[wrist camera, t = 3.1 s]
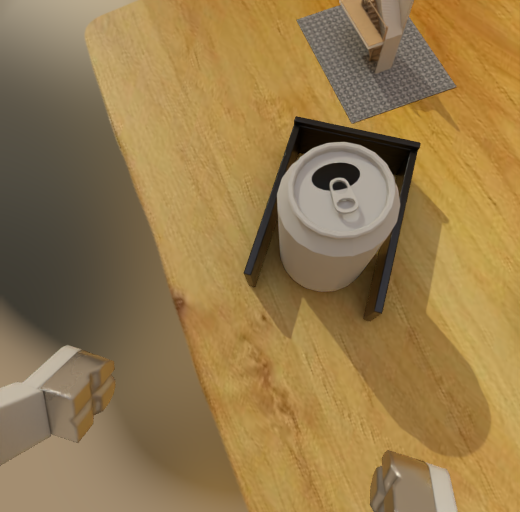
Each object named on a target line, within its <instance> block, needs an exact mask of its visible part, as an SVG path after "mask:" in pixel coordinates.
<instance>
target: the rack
mask: <svg viewBox="0 0 520 512" xmlns="http://www.w3.org/2000/svg"><path fill="white" fill-rule="evenodd" d="M334 142H347V143H352V144H357V145H361V146H363V147H365V148H367V149H369V150H371V151H373V152H375V153H376V154H377V155H378V156H379V157H380V158H381V159H382V160H383V161H384V162H385V163H387V165H388V167H389V169H390V171H391V172H392V174H395V175H397V176H396V180H395V183H396V185H397V187H398V193H399V199H400V209H399V214H398V219H397V223H396V224H395V226H394V227H393V229H392V231H391V232H390V234H389V235H388V237H387V238H386V240H385V241H384V243H383V244H382V245H381V247H380V249H379V253H378V258H377V262H376V266H375V271H374V275H373V279H372V283H371V288H370V292H369V296H368V301H367V305H366V309H365V314H364V318H363V319H364V320H368V321H371V320H373V319H374V318H376V317H377V316H379V315H380V314H382V312H383V307H384V302H385V298H386V293H387V289H388V284H389V280H390V275H391V270H392V266H393V261H394V257H395V252H396V247H397V243H398V238H399V234H400V229H401V225H402V220H403V215H404V211H405V206H406V202H407V197H408V193H409V188H410V183H411V179H412V174H413V170H414V165H415V160H416V156H417V151H418V149H419V148H420V143H419V142H415V141H410V140H405V139H400V138H396V137H391V136H386V135H382V134H377V133H372V132H367V131H363V130H358V129H353V128H349V127H344V126H339V125H334V124H330V123H325V122H320V121H316V120H311V119H306V118H301V117H297V116H296V117H295V120H294V126H293V129H292V132H291V135H290V138H289V141H288V144H287V147H286V150H285V153H284V156H283V159H282V162H281V165H280V168H279V170H278V173H277V176H276V179H275V182H274V185H273V188H272V191H271V194H270V197H269V200H268V203H267V206H266V209H265V212H264V215H263V218H262V221H261V224H260V227H259V229H258V232H257V235H256V238H255V241H254V244H253V247H252V250H251V253H250V256H249V259H248V262H247V265H246V268H245V271H244V275H245V277H246V280H247V282H248V284H249V286H252V287H255V286H256V283H257V280H258V277H259V274H260V271H261V268H262V265H263V262H264V259H265V255H266V252H267V249H268V246H269V243H270V240H271V237H272V234H273V231H274V228H275V225H276V222H277V219H278V206H277V192H278V189H279V186H280V183H281V180H282V177H283V176H284V175H285V173H286V172H287V171H288V169H289V168H290V166H291V165H292V164H293V163H295V162H296V160H297V157H298V154H299V153H303V154H305V153H307V152H308V151H309V150H311V149H312V148H315V147H317V146H320V145H323V144H326V143H334Z"/></svg>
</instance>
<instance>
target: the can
mask: <svg viewBox="0 0 520 512" xmlns="http://www.w3.org/2000/svg"><path fill="white" fill-rule="evenodd" d="M277 206H278V225H279V243H280V258H281V261H282V263H283V266H284V268H285V270H286V272H287V273H288V274H289V275H290V276H291V278H292V279H293V280H294V281H295V282H297V283H299V284H300V285H302V286H303V287H305V288H307V289H311V290H315V291H319V292H326V291H336V290H338V289H341V288H344V287H347V286H348V285H349V284H351V283H352V282H353V281H354V280H356V279H357V278H358V277H359V275H360V274H361V273H362V271H363V270H364V269H365V267H366V266H367V264H368V263H369V262H370V260H371V259H372V258H373V256H374V255H375V254H376V252H377V251H378V249H379V248H380V247H381V245H382V244H383V243H384V241H385V240H386V238H387V237H388V235H389V234H390V232H391V231H392V229H393V227H394V226H395V224H396V223H397V219H398V214H399V209H400V199H399V193H398V187H397V185H396V183H395V179H394V176H393V174H392V172H391V171H390V169H389V167H388V165H387V163H385V162H384V161H383V160H382V159H381V158H380V157H379V156H378V155H377V154H376V153H375V152H373V151H371V150H369V149H367V148H365V147H363V146H361V145H357V144H352V143H347V142H334V143H326V144H323V145H320V146H317V147H315V148H312V149H311V150H309V151H308V152H307V153H305V154H304V155H303V156H301V157H300V158H299V159H298V160H297V161H296V162H295V163H293V164H292V165H291V166H290V168H289V169H288V171H287V172H286V173H285V175H284V176H283V177H282V180H281V183H280V186H279V189H278V192H277Z"/></svg>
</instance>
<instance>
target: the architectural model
mask: <svg viewBox="0 0 520 512" xmlns="http://www.w3.org/2000/svg"><path fill="white" fill-rule="evenodd" d="M413 2H414V0H340V2H339V3H340V4H341V5H339V6H336V7H333V8H330V9H327V10H324V11H321V12H319V13H316V14H313V15H310V16H307V17H304V18H301V19H298V20H297V22H298V24H299V26H300V28H301V29H302V31H303V33H304V35H305V37H306V39H307V41H308V42H309V44H310V46H311V48H312V50H313V52H314V54H315V55H316V57H317V59H318V61H319V63H320V65H321V67H322V69H323V70H324V72H325V74H326V76H327V78H328V80H329V82H330V83H331V85H332V87H333V89H334V91H335V93H336V95H337V96H338V98H339V100H340V102H341V104H342V106H343V108H344V110H345V111H346V113H347V115H348V117H349V119H350V121H351V123H354V122H357V121H360V120H363V119H365V118H368V117H371V116H374V115H377V114H380V113H383V112H385V111H388V110H391V109H394V108H397V107H400V106H402V105H405V104H408V103H411V102H414V101H417V100H420V99H422V98H425V97H428V96H431V95H434V94H437V93H440V92H442V91H445V90H448V89H451V88H454V87H456V85H455V84H454V82H453V81H452V79H451V78H450V76H449V75H448V74H447V72H446V71H445V69H444V68H443V66H442V65H441V63H440V62H439V60H438V59H437V57H436V56H435V54H434V53H433V52H432V50H431V49H430V47H429V46H428V44H427V43H426V41H425V40H424V38H423V37H422V35H421V34H420V32H419V31H418V30H417V28H416V27H415V25H414V24H413V22H412V21H411V19H410V18H409V14H410V11H411V8H412V5H413Z"/></svg>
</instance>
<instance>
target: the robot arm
mask: <svg viewBox="0 0 520 512" xmlns="http://www.w3.org/2000/svg"><path fill="white" fill-rule="evenodd" d="M114 369H115V368H114V361H112V360H109V359H106V358H104V357H101V356H98V355H95V354H92V353H90V352H87V351H84V350H81V349H78V348H75V347H72V346H69V345H67V346H64V347H62V348H61V349H59V350H58V351H57V352H56V353H55V354H54V355H53V356H52V357H50V358H49V359H48V360H47V361H46V362H45V363H44V364H43V365H42V366H40V367H39V368H38V369H37V370H36V371H35V372H34V373H33V374H32V375H30V376H29V377H28V378H27V379H26V380H25V381H24V382H23V383H20V382H15V383H12V384H10V385H7V386H4V387H2V388H0V466H1V465H2V464H4V463H6V462H7V461H9V460H11V459H12V458H14V457H16V456H17V455H19V454H21V453H23V452H25V451H26V450H28V449H30V448H31V447H33V446H35V445H36V444H38V443H40V442H41V441H43V440H45V439H47V438H49V437H50V436H51V434H52V435H55V436H58V437H61V438H64V439H68V440H70V441H73V442H76V443H78V442H79V441H80V440H81V439H82V437H83V436H84V435H85V434H86V432H87V431H88V430H89V428H90V427H91V426H92V424H93V416H94V415H96V414H98V413H100V412H102V411H103V410H104V409H105V408H106V406H107V405H108V403H109V402H110V400H111V398H112V396H113V394H114V389H115V379H114V377H113V376H112V375H111V373H112V372H113V371H114ZM370 506H371V507H372V509H373V511H374V512H458V510H457V506H456V501H455V497H454V493H453V488H452V484H451V479H450V475H449V473H448V471H447V469H444V468H441V467H438V466H435V465H432V464H429V463H425V462H424V461H421V460H418V459H415V458H412V457H408V456H405V455H402V454H399V453H396V452H392V451H389V450H387V451H386V452H385V453H384V455H383V457H382V466H380V467H378V468H376V470H375V473H374V475H373V478H372V482H371V489H370Z"/></svg>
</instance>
